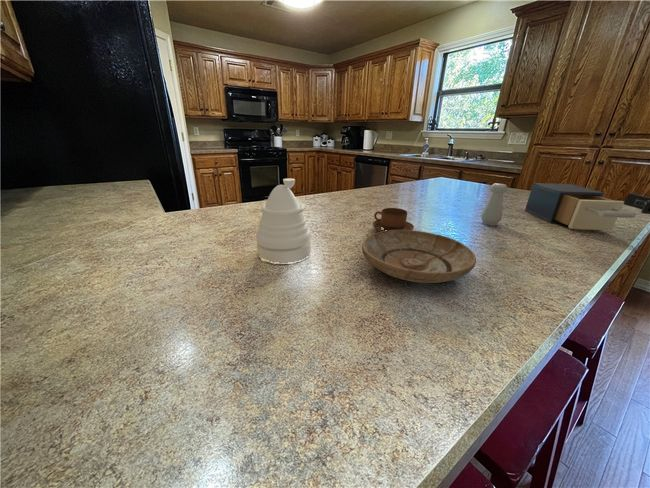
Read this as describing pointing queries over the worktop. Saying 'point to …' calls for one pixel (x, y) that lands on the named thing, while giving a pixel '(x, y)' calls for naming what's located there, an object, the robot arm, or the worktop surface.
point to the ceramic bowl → (418, 256)
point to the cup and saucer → (392, 220)
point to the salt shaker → (494, 205)
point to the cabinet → (552, 198)
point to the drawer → (590, 212)
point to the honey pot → (283, 227)
